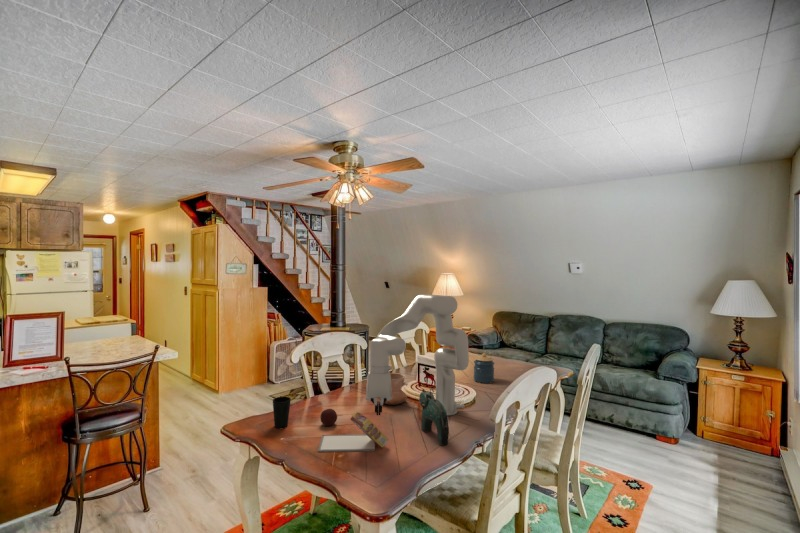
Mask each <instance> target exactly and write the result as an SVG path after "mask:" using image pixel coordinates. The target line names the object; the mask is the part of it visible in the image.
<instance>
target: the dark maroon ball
mask: <svg viewBox="0 0 800 533" xmlns="http://www.w3.org/2000/svg"><path fill="white" fill-rule="evenodd" d="M337 420H338V414H337V412H336V411H335V409H333V408H327V409H324V410H323V411H321V413H320V423H321V424H322V425H324V426H327V427H330V426H332V425H334V424H335V423H336V422H337Z"/></svg>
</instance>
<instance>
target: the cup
mask: <svg viewBox="0 0 800 533" xmlns="http://www.w3.org/2000/svg"><path fill="white" fill-rule="evenodd" d="M290 408H291V397H289V396H278V397H275V398H273V399H272V410H273V423H274V428H275V429H277V428H279V430H281V429H280V428H283V429H286V428H287V427H288V426H289V425H288V424H289V416H290ZM285 427H286V428H285Z"/></svg>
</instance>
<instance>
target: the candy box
mask: <svg viewBox="0 0 800 533" xmlns="http://www.w3.org/2000/svg"><path fill="white" fill-rule="evenodd" d="M350 421H351V422H353V424H354V425H355V426H356V427H357V428H359V429H360V430H361V431H362V432H363V434H366V435H367V436H368V437H369V438H370V439H372V440H373V441H374V442H375V443H376V445H378V446H380V448H382V449H383V448H384V447H385V445H386V444H387V443H388V441H389V438H388V437H387V436H386V435H385V434H384V433H383V432H382V431H381V430H380V429H379V428H378V427H377V426H376V425H375V424H374V423H373V422H372V421H371V420H370V419H369V418H368V417H366V416H365V415H363V414H362V413H360V412H359V411H357V410H356V411H355V412H354V413H353V415H352V416H351V417H350Z"/></svg>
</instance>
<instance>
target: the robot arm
mask: <svg viewBox="0 0 800 533" xmlns="http://www.w3.org/2000/svg"><path fill="white" fill-rule="evenodd" d="M457 309H458V301H457V299H456V298H455V297H453V296H451V295H439V294H418V295H416V296H415V297H414V299H413V300H412V301H411V302H410V304H409V305H408V307H407V308H406V309H405V310H404V312H403V313H402V314H401V316H398V317H396V318H394V319H393V320H391V321H390V322H388V323H387V324H385V325H384V326H383V327H382V328H381V329H380V331H379V332H378V334H377V335H376V337H375V338H373V339H371V341H370V354H369V356H370V357H369V359H370V360H369V364H370V365H369V371H368V372H367V377H366V388H365V390H366V394H365V400H366V401H368V402H371V403H373V404H374V413H375V414H376V416H381V413H383V405H384V404H385V402H386V401H388V400H391V399H392V397H391V375H390V373H391V372H390V371H392V370H393V366H391V365H389V361H390V360H389V359H390V358H389V357H390V356H400V355H402V354H403V353H404V352H405V351H406V348H407V344H406V341H405V340H404V339H403V338H402V337H399V336H397V335H399V334H400V333H404V332H408V331H409V332H410V331H411V330H414V329H417V328H418V326H419V325H420V323H421V322H422V320H423V319H424V317H425V316H426V315H428V314H429V315H431V314H432V316H433V318H434V324H435V325H434V326H435V339H436V340H435V341H436V343H437V344H438V345H439V346H442V347H439V348H438V349H436V351H435V352H434V356H433V358H434V364H435V400H438V401H440V402H441V403H442V404H443V406H444V408H445V410H446V413H447V417H448V416H454V415H457V413H458V411H459V410H458V409H465V404H462V403H461V402H456V374H455V372H454V370H456V371H461V372H462V371H466V369H467V368H468V366H469V363H470V362H469V361H470V358H469V357H470V355H469V338H468V334H467V333H466V331H465V330H464V329H463V328H462V329H461V328H456V327H454V326H453V317H452V315H453V314H454V313H455V312H456V311H457ZM379 398H381V399H379ZM378 399H379V402H378Z"/></svg>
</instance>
